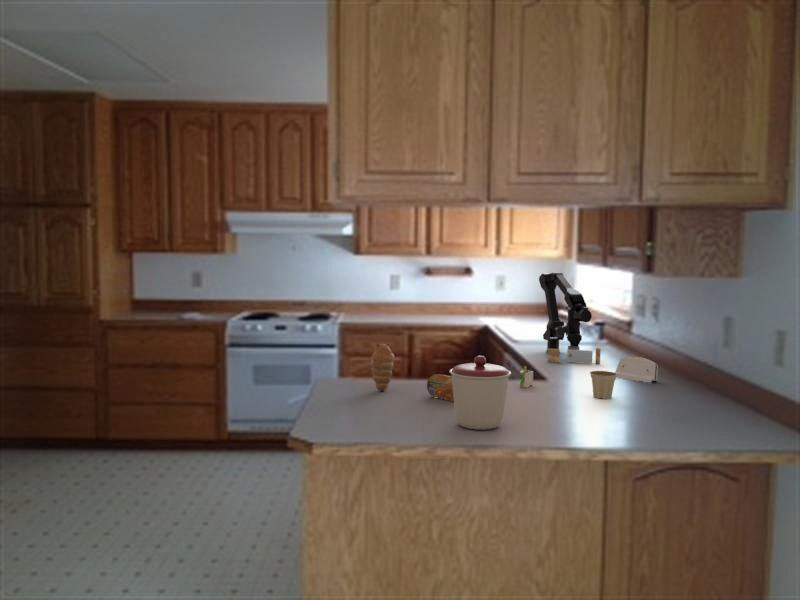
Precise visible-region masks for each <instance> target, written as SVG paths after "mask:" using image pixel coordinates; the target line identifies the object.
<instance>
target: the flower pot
mask: <svg viewBox="0 0 800 600" xmlns="http://www.w3.org/2000/svg"><path fill="white" fill-rule="evenodd" d="M589 374H590V378H591V384H592V392H593V394H592V396H593V397H594V398H596V399H604V400H608V399H609V398H610V399H611V398H612V396H613V392H614V385H615V381H616V379H617V378H616V376H617V373H615V372H613V371H608V370H592V371H589Z"/></svg>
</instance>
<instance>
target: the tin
mask: <svg viewBox="0 0 800 600" xmlns="http://www.w3.org/2000/svg"><path fill="white" fill-rule="evenodd" d="M426 388H427V392H428V394H429V396H431V397H432V396H433V397H438V398H442V399H446V400H445V401H447V400H450V401H449V402H454V397H453V386H452V375H446V374H441V373H440V374H439V373H438V374H435V373H434V374H432V375H431V376H430V377H429V378H428V380H427V384H426ZM433 397H432V398H433ZM442 399H441V400H442Z"/></svg>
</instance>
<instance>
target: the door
mask: <svg viewBox="0 0 800 600" xmlns="http://www.w3.org/2000/svg"><path fill="white" fill-rule="evenodd" d="M566 362H567V363H578V362H579V363H583V364H593V350H589V349H588V350H586V349H579V350H568V349H567V350H566ZM579 363H578V364H579Z"/></svg>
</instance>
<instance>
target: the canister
mask: <svg viewBox="0 0 800 600" xmlns="http://www.w3.org/2000/svg"><path fill="white" fill-rule="evenodd" d="M473 361H474V362H469V363H467V362H466V363H461V364H457V365H455V366H453V368H451V369H449V370H448V371H449V374H450V375H451V376H452V386H453V397H454V401H453V404H454V413H455V419H456V421H457V424H458V425H459V426H460V427H463V428H464V429H465V428H466V429H469V430H475V431H477V430H478V431H487V430H493V429H496V428H498V427H499V426H500V425H501V423H502V421H503V417H504V411H505V405H506V398H507V391H508V384H509V383H508V382H509V377H510V376H511V375H512V372H511V370H508V369H507V368H506V367H504V366H502V365H498V364H493V363H487V358H486V357H485V356H484V355H477V356H475V357H474V359H473Z"/></svg>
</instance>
